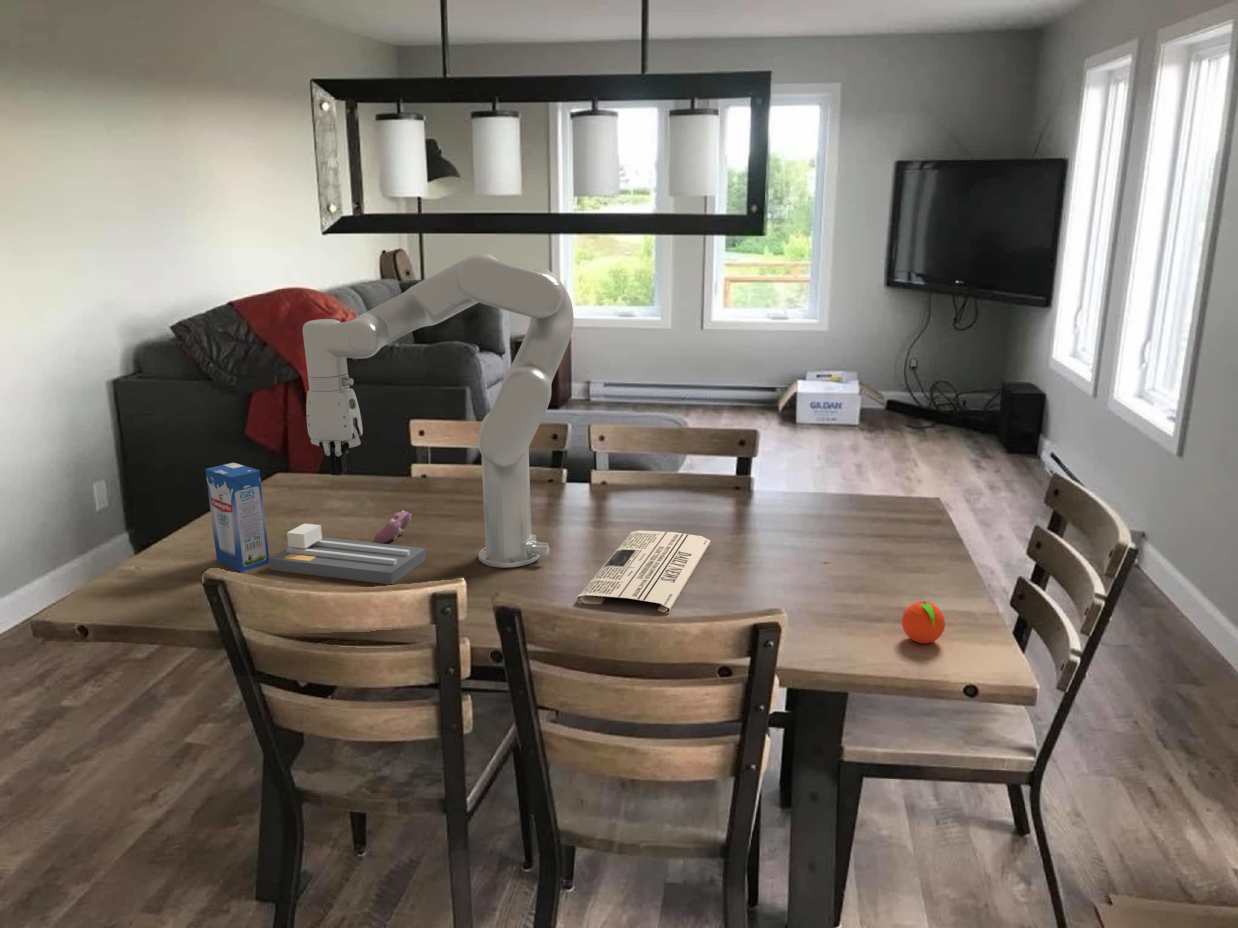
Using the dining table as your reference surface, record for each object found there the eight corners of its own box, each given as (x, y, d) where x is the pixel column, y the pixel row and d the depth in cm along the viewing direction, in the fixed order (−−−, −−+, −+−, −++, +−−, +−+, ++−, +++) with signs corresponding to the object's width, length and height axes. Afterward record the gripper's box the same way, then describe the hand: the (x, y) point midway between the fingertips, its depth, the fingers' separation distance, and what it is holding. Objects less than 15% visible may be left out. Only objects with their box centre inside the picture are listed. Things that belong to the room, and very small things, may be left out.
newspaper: (631, 540, 217) (630, 528, 216) (718, 548, 212) (718, 536, 211) (576, 606, 183) (576, 592, 182) (679, 617, 178) (679, 603, 177)
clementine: (953, 652, 162) (956, 612, 160) (912, 654, 162) (915, 614, 160) (933, 631, 170) (936, 592, 168) (894, 633, 169) (897, 594, 167)
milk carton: (216, 561, 206) (205, 468, 200) (244, 552, 210) (233, 462, 205) (242, 572, 200) (230, 477, 194) (270, 563, 204) (259, 470, 199)
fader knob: (322, 543, 207) (320, 525, 206) (305, 552, 202) (303, 534, 201) (306, 541, 209) (304, 523, 208) (288, 551, 203) (286, 532, 202)
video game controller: (389, 551, 215) (401, 525, 212) (371, 542, 215) (383, 515, 213) (407, 536, 224) (418, 511, 222) (389, 527, 224) (401, 501, 222)
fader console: (426, 559, 205) (425, 544, 204) (391, 584, 192) (390, 568, 192) (310, 546, 214) (309, 531, 213) (270, 569, 201) (268, 553, 200)
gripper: (372, 381, 194) (381, 470, 199) (307, 378, 199) (317, 466, 204) (351, 388, 188) (361, 481, 192) (284, 386, 192) (295, 476, 197)
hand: (339, 473), depth 198 cm, fingers closed
